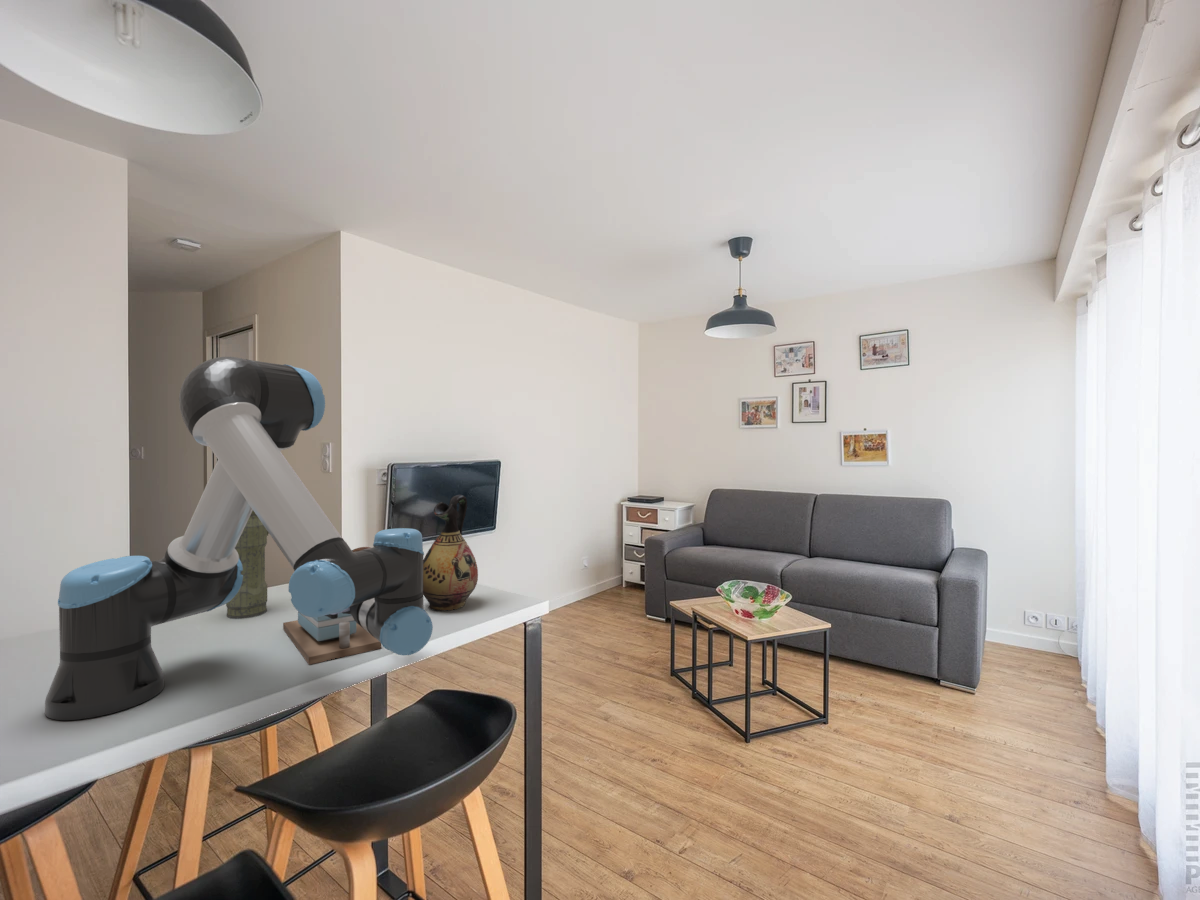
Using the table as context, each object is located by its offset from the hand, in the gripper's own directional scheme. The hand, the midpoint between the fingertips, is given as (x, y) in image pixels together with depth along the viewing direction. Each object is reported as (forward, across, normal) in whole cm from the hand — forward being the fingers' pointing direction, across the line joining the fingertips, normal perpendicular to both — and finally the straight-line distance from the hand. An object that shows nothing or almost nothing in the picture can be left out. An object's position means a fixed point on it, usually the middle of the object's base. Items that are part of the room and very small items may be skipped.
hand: (345, 587), depth 114 cm
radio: (+13, 0, -13) cm, 18 cm away
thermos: (+46, -12, -14) cm, 49 cm away
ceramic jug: (+19, +32, -14) cm, 40 cm away
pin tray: (+13, 0, -14) cm, 19 cm away
